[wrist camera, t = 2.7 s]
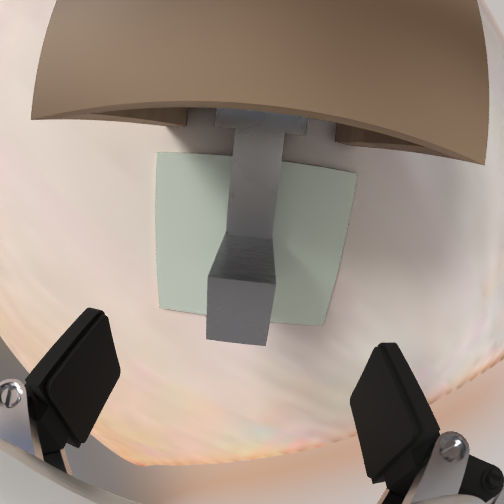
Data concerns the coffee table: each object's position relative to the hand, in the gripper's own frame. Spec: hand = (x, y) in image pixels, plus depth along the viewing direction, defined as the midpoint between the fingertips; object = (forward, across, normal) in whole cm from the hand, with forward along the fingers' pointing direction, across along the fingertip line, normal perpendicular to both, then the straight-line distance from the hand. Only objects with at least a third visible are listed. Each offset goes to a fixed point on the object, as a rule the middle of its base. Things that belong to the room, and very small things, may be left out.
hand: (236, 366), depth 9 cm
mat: (+8, 0, -1) cm, 8 cm away
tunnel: (+8, 0, -12) cm, 14 cm away
